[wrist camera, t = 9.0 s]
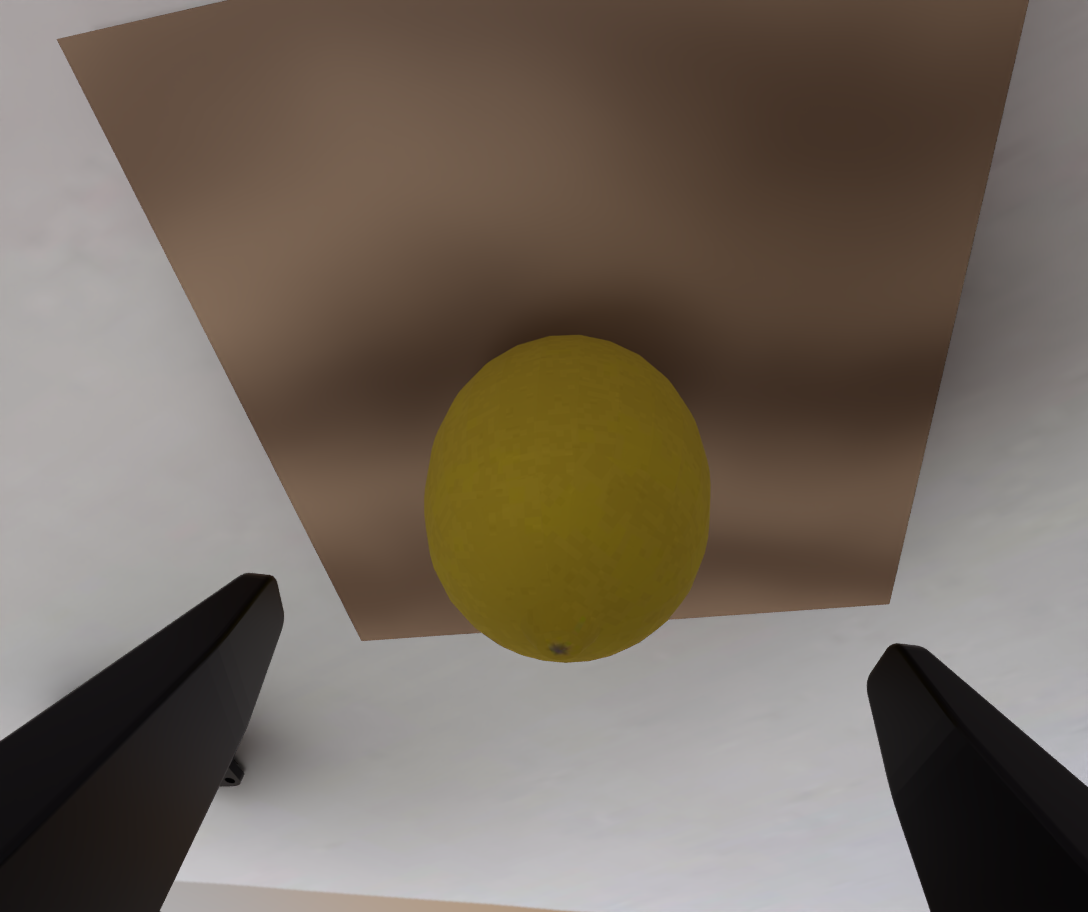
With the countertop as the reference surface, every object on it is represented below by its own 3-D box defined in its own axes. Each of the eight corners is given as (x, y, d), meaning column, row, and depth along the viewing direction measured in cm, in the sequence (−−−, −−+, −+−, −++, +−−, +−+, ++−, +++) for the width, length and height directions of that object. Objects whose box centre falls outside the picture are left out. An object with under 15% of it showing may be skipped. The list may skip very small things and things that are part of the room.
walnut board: (876, 581, 20) (889, 604, 19) (369, 619, 22) (361, 640, 21) (1031, -172, 10) (1073, -193, 9) (92, 40, 12) (56, 39, 11)
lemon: (422, 390, 15) (299, 643, 9) (570, 232, 13) (553, 418, 6) (572, 507, 17) (564, 785, 11) (726, 389, 15) (837, 657, 8)
